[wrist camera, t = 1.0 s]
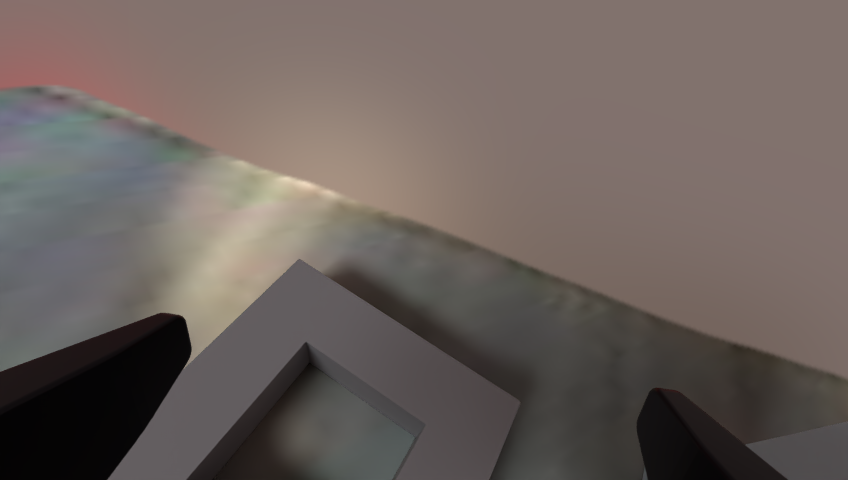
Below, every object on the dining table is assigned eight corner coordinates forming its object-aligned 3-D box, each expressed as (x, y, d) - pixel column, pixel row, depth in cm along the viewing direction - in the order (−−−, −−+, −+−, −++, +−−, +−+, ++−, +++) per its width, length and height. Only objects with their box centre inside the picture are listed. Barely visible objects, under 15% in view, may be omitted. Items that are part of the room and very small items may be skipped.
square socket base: (344, 778, 14) (345, 829, 11) (71, 522, 16) (26, 519, 14) (501, 416, 22) (521, 401, 19) (303, 285, 25) (299, 258, 22)
